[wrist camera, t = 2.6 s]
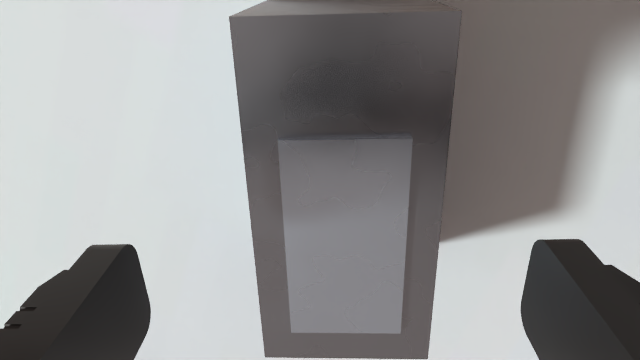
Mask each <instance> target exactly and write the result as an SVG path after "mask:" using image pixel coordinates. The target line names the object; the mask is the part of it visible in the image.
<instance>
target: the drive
mask: <svg viewBox="0 0 640 360" xmlns="http://www.w3.org/2000/svg"><path fill="white" fill-rule="evenodd" d="M461 14H462V11H461V10H458V9H455V8H452V7H449V6H446V5H444V4H441V3H438V2H435V1H432V0H267V1H265V2H262V3H260V4H258V5H255V6H253V7H251V8H248V9H246V10H244V11H241V12H239V13H237V14H234V15H232V16H230V17H229V20H230V30H231V39H232V49H233V58H234V68H235V77H236V86H237V96H238V105H239V115H240V124H241V134H242V143H243V153H244V162H245V172H246V181H247V191H248V200H249V210H250V219H251V228H252V238H253V247H254V257H255V266H256V276H257V285H258V295H259V304H260V314H261V323H262V333H263V342H264V351H265V357H287V358H374V359H428V351H429V340H430V330H431V320H432V310H433V299H434V289H435V279H436V269H437V259H438V248H439V238H440V228H441V218H442V208H443V197H444V187H445V177H446V167H447V157H448V146H449V136H450V126H451V116H452V106H453V95H454V85H455V75H456V65H457V54H458V44H459V34H460V24H461Z"/></svg>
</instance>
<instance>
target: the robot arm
mask: <svg viewBox="0 0 640 360" xmlns="http://www.w3.org/2000/svg"><path fill="white" fill-rule="evenodd" d="M150 314H151V310H150V302H149V298H148V294H147V290H146V286H145V282H144V278H143V274H142V270H141V266H140V262H139V258H138V255H137V252H136V249H135V248H134V247H133V246H132V245H130V244H120V245H92V246H90V247H88V248H87V249H86V251H85V252H84V253H83V254H82V255H81V256H80V258H79V259H78V260H77V261H76V262H75V263H74V265H73V266H72V267H71V268H70V269H69V270H63V271H62V272H60V273H59V274H57V275H56V276H54V277H53V278H51V279H50V280H48V281H47V282H45V283H44V284H42V285H41V286H39V287H38V288H37V289H36V290H35V291H34V292H33V294H32V295H31V296H30V297H29V298H28V299H27V300H26V301H25V302H24V303H23V305H22V306H21V307H20V311H16V312H15V313H14V314H13V316H12V317H11V318H10V319H9V320H8V321H7V322H6V323H5V327H4V329H0V360H134V358H135V356H136V354H137V352H138V350H139V348H140V346H141V344H142V342H143V340H144V338H145V336H146V334H147V331H148V328H149V323H150ZM521 317H522V322H523V326H524V330H525V332H526V335H527V337H528V339H529V340H530V342H531V344H532V346H533V348H534V350H535V352H536V354H537V356H538V358H539V360H640V282H638V281H636V280H635V279H633V278H632V277H630V276H628V275H627V274H625V273H624V272H622V271H620V270H619V269H617V268H616V267H614V266H612V265H604V264H603V263H602V262H601V261H600V260H599V259H598V257H597V256H596V255H595V254H594V253H593V252H592V251H591V250H590V248H589V247H588V246H587V245H586V244H585V243H584V242H583V241H581V240H579V239H554V240H537V241H536V242H535V243H534V245H533V247H532V251H531V256H530V261H529V266H528V270H527V275H526V280H525V285H524V290H523V295H522V301H521Z"/></svg>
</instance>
